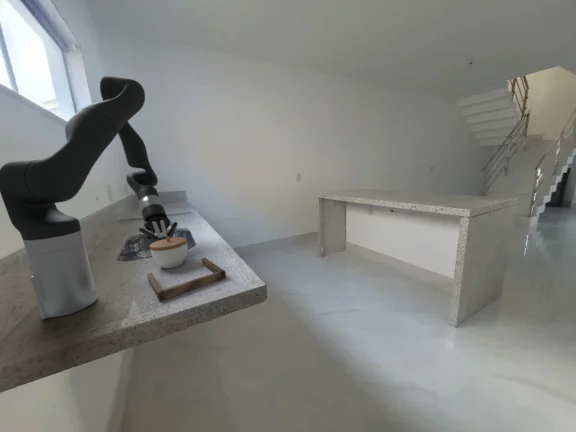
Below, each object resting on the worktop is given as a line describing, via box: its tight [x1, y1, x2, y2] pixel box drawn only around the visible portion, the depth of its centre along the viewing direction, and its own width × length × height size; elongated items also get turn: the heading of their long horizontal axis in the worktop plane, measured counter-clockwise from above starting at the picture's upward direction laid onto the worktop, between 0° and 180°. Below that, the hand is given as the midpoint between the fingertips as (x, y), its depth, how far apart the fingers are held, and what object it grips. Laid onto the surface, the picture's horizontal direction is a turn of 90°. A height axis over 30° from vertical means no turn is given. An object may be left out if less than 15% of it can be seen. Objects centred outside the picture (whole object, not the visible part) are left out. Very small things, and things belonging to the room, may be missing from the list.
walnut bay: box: [146, 257, 227, 302], centre depth 65 cm, size 16×15×2 cm
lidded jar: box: [149, 236, 188, 269], centre depth 76 cm, size 11×11×9 cm
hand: (165, 248), depth 81 cm, fingers closed
